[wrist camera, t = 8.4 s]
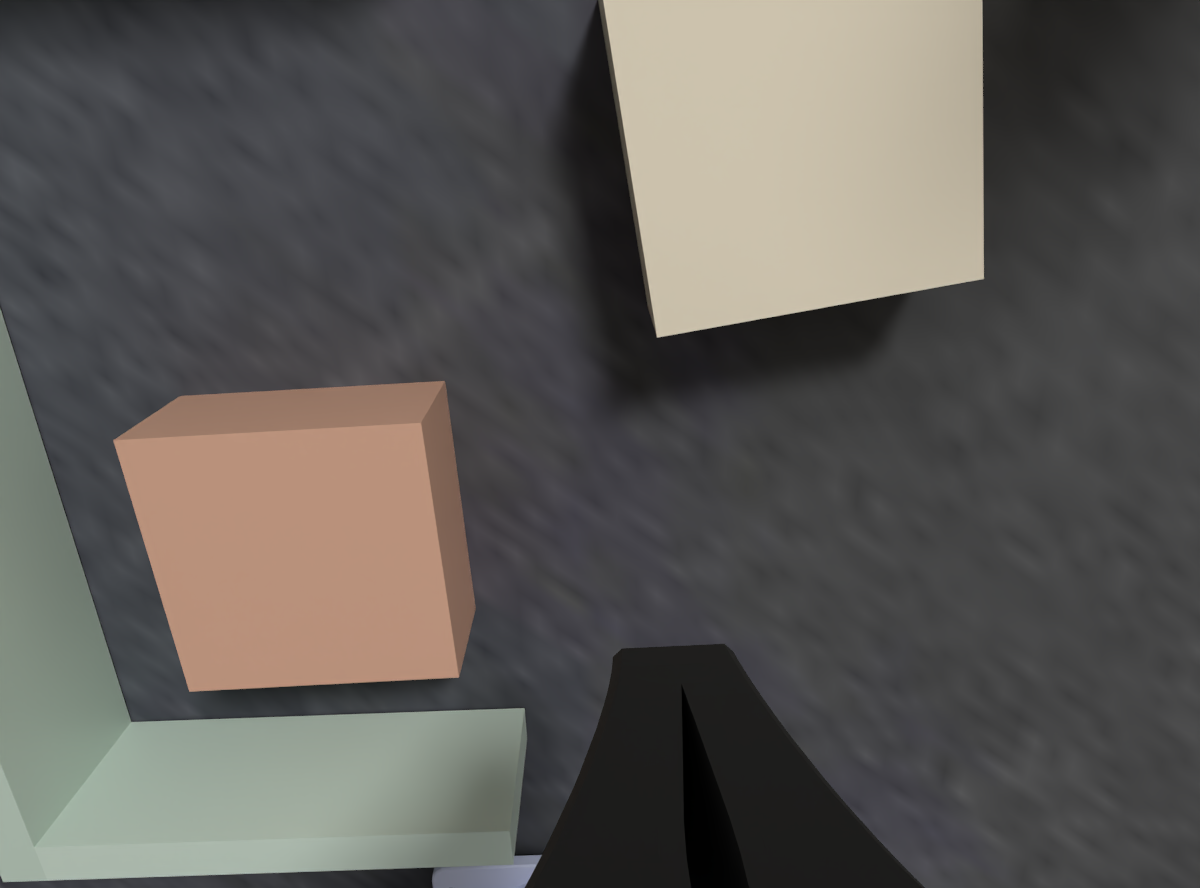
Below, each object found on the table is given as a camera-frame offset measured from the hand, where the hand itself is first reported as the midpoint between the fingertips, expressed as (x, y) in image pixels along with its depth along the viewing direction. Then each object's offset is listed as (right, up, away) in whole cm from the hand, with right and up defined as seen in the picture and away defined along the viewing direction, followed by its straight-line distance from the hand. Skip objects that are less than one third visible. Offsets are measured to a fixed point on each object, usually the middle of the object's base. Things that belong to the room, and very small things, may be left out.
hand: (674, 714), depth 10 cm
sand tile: (+3, +10, +7) cm, 12 cm away
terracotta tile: (-7, +2, +10) cm, 12 cm away
